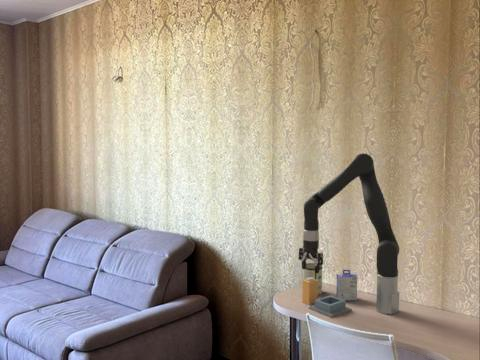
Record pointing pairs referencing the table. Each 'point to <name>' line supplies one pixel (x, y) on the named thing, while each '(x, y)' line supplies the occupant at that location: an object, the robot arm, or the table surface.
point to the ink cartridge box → (347, 286)
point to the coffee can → (313, 274)
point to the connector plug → (310, 290)
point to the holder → (330, 306)
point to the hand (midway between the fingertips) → (310, 271)
